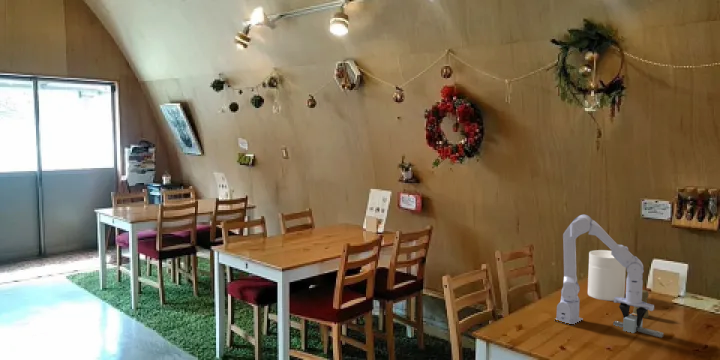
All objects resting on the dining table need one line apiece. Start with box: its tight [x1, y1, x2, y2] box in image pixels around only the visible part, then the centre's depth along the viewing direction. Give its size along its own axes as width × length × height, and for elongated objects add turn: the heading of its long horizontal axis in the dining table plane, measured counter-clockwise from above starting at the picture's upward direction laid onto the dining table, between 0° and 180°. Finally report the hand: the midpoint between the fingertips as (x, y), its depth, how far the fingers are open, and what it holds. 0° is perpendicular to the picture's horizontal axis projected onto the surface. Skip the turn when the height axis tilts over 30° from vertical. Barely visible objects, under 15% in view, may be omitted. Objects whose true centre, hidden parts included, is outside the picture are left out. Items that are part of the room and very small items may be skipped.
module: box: [622, 312, 644, 334], centre depth 219 cm, size 9×4×5 cm, turn 133°
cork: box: [632, 289, 650, 319], centre depth 235 cm, size 6×6×11 cm
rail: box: [613, 320, 664, 338], centre depth 218 cm, size 2×18×2 cm, turn 43°
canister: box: [587, 249, 627, 302], centre depth 262 cm, size 16×16×20 cm
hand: (632, 324), depth 219 cm, fingers closed on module, 4 cm apart
